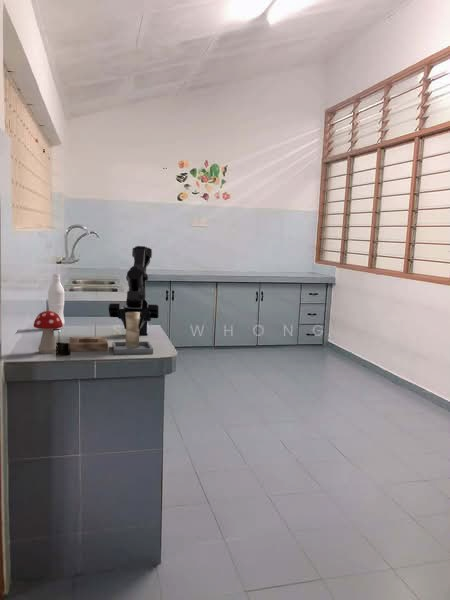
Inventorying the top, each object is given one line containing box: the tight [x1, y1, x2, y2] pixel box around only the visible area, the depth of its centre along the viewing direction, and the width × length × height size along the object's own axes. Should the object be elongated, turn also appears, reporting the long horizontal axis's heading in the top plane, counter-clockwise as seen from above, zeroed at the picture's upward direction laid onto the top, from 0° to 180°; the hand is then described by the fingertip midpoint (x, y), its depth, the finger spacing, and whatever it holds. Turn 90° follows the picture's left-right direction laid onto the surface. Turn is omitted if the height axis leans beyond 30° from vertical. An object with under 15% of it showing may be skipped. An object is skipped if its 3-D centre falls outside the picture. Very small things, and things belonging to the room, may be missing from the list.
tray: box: [111, 341, 154, 356], centre depth 189 cm, size 14×14×2 cm
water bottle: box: [47, 273, 66, 330], centre depth 225 cm, size 7×7×25 cm
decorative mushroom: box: [33, 310, 63, 355], centre depth 179 cm, size 10×9×15 cm
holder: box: [68, 336, 109, 352], centre depth 191 cm, size 14×14×2 cm
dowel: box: [125, 312, 140, 348], centre depth 188 cm, size 5×5×13 cm
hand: (132, 328), depth 186 cm, fingers closed on dowel, 5 cm apart
